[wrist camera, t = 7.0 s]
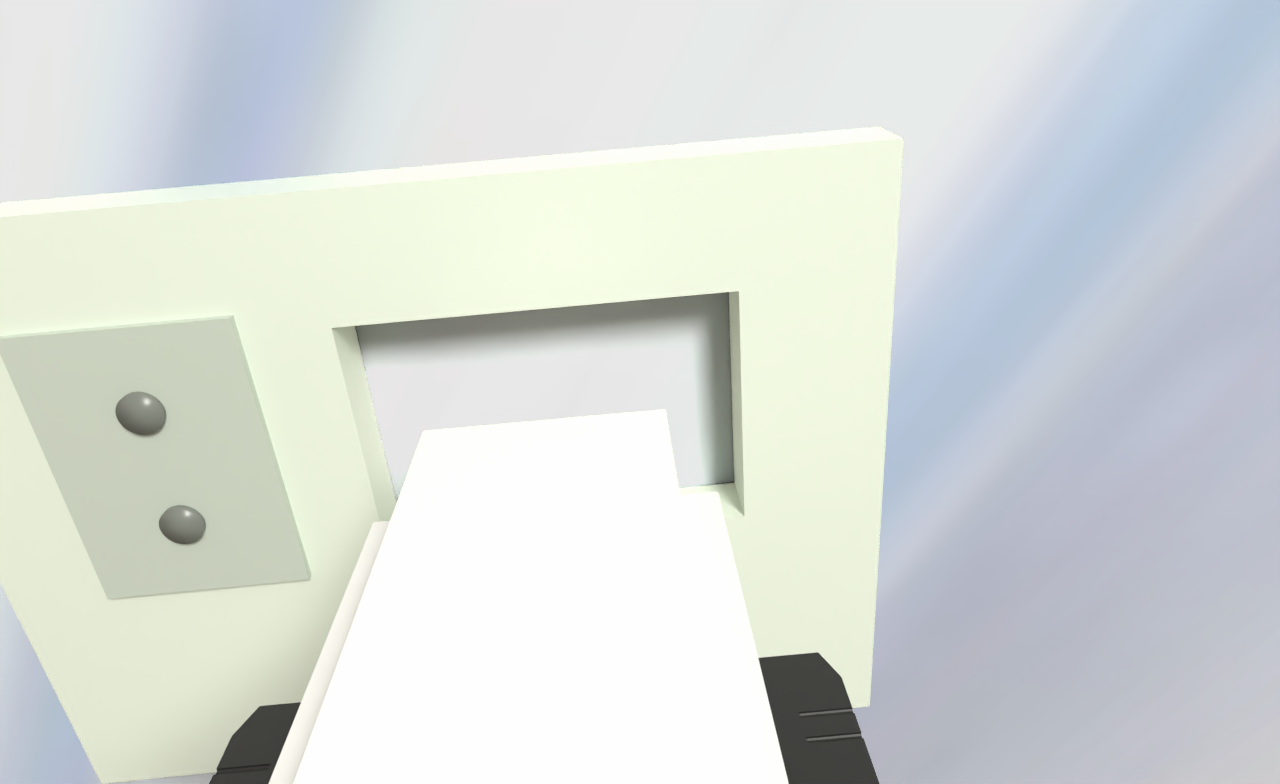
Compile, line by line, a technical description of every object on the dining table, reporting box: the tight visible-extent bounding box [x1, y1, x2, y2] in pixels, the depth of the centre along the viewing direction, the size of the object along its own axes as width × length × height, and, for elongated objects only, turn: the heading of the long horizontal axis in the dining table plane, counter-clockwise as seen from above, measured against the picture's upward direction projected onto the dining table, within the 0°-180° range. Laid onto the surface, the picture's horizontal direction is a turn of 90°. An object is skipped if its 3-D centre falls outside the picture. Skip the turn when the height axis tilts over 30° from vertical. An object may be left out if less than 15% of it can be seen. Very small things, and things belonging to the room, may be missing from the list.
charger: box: [293, 409, 729, 784], centre depth 12 cm, size 4×4×12 cm
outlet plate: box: [0, 126, 904, 784], centre depth 22 cm, size 22×16×2 cm
